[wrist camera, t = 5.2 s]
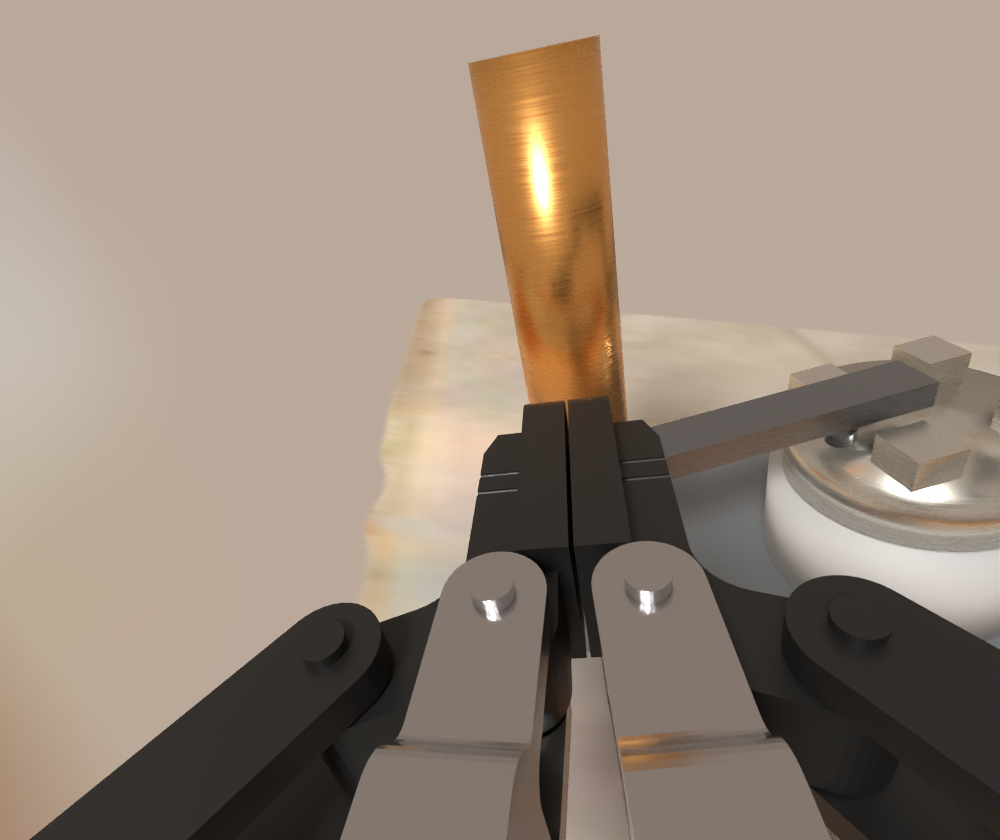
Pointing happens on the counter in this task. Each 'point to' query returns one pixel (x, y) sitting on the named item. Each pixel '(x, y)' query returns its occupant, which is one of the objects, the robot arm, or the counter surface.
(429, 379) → the counter surface
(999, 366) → the counter surface
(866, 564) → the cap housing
